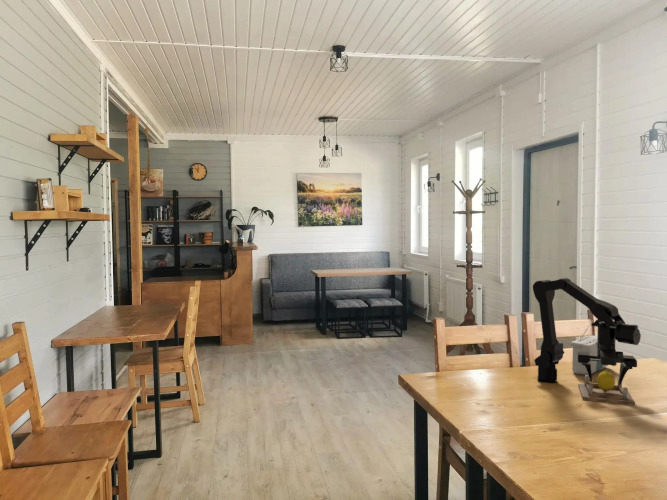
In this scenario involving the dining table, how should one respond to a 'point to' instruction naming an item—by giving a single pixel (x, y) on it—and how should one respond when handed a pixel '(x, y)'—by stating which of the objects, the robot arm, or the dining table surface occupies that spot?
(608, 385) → the lemon
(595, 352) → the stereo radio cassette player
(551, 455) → the dining table surface
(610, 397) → the cradle tray
